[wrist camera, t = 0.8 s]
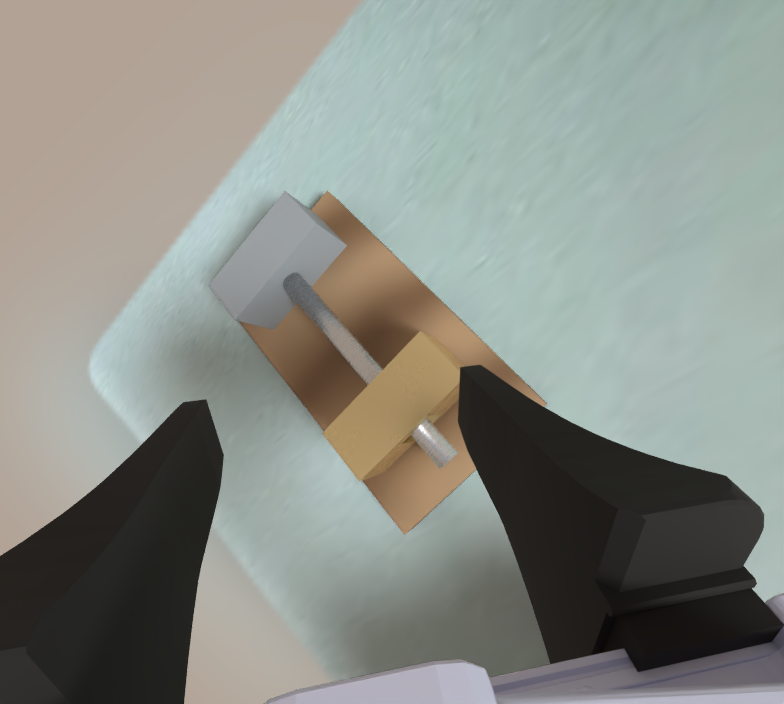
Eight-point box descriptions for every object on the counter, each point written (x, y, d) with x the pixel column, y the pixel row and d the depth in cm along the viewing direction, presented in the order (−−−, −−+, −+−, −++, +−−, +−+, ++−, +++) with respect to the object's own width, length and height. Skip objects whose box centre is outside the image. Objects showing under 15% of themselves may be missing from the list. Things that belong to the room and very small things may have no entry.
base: (547, 403, 23) (541, 403, 18) (413, 527, 25) (377, 555, 20) (338, 200, 29) (295, 162, 24) (244, 312, 31) (186, 296, 26)
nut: (478, 380, 22) (465, 376, 20) (384, 472, 24) (359, 481, 21) (438, 339, 23) (420, 330, 21) (350, 429, 25) (322, 433, 22)
